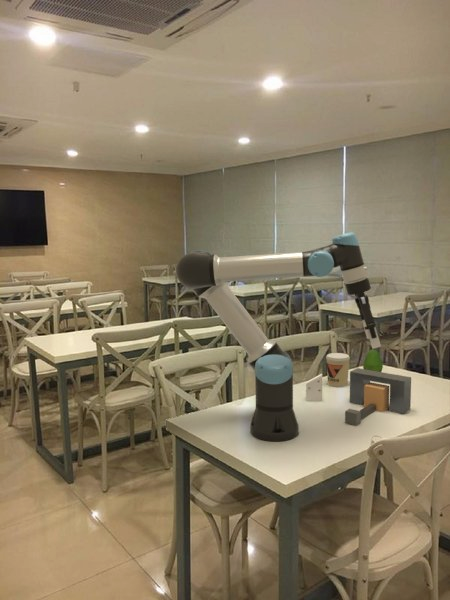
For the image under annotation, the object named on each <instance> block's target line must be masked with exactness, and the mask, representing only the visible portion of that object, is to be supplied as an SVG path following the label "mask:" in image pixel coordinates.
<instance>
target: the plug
mask: <svg viewBox="0 0 450 600" xmlns="http://www.w3.org/2000/svg"><path fill="white" fill-rule="evenodd" d="M389 409H390V385H388V384H383V383H378V382H372V381H370V383H368V384H366V385H365V386H364V404H363V407H362V409H360V410H358V409H357V410H356V409H352V408H348V409H346V410H345V412H344V423H345V424H347V425H352V426H356V427H357V426H358V425H360V424H361V422H362V421H363V420H364V419H365V418H367V417H368V416H370V415H371V414H373V413H374V412H375V411H376V412H377V411H378V412H383V413H384V412H385V411H387V410H389Z"/></svg>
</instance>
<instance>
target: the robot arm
mask: <svg viewBox="0 0 450 600" xmlns="http://www.w3.org/2000/svg"><path fill="white" fill-rule="evenodd" d="M337 267H339V268H340V273H341V276H342V281H343V282H344V283H345V289H346V293H347V295H349V296H355V298H354V301H355V304H356V306H357V309H358V311H359V316H360V319H361V323H362V326H363V329H364V333H365V336H366V339H367V340H369V342H370V345H371V348H372V349H371V350H375V349H378V348H381V347H382V344H381V340H380V337H379V334H378V331H377V328H376V327H377V324H376V322H375V320H374V315H373V313H372V310H371V304H370V299H369V296H367V294H366V295H365V292H368V291H369V290H371V288H372V287H371V283H370V280H369V278H368V274H367V271H366V270H368V267H367V266H365V262H364V258H363V256H362V252H361V247H360V244H359V242H358V239H357V235H356V233H354V232H353V231H350V232H345V233H343V234H340V235H336V236H333V237H332V243H331V244H328V245H326V246H322V247H319V248H318V247H317V248H314V249H312V250H307V251H295V252H280V253H268V254H253V255H252V254H250V255H239V256H224V257H220V256H218V255H217V254H211V253H210V252H208V251H205V250H195V251H191V252H188V253H186V254H184V255H182V256H181V257H180V258H179V260H178V262H177V263H176V267H175V275H176V278H177V280H178V282H179V283H180V284H181V285H182V286H184V287H185V288H188V289H191V290H192V291H193V292H194V293H195V294H196V296H197V297H198V298H200V299H201V298H202V299H205V300H206V301H207V303H208V304H209V305H210V306H211V308H212V309H213V310H214V311H215V313H216V314H217V316H218V317H219V319H221V321H222V322H223V323H224V326H226V328H227V329H228V330H229V332H230V333H231V334H232V336H233V337H234V338H235V339H236V341H237V342H238V343H239V345H240V346H241V347H242V349H243V351H245V353H246V354H247V356H248V358H247V363H248V364H249V365H250V367H251V368H252V369H253V371H254V376H255V384H254V385H255V386H254V387H255V391H254V392H255V409H254V411H253V415H252V419H251V422H250V434H251V435H252V436H253V437H255V438H256V439H259V440H263V441H270V442H283V441H288V440H291V439H294V438H296V437H297V436H298V435H299V431H300V428H299V427H300V425H299V422H298V420H297V417H296V414H295V410H294V375H293V374H294V365H293V361H292V359H291V356H290V355H289V354H288V353H287V352H286V351H285V350H283V349H282V348H281V347H280V345H279V344H278V342H277V341H276V340H271V339H269V338H268V337H267V336H266V334H265V333H264V331H263V330H262V329H261V328H260V326H259V325H258V324H257V322H256V321H255V320H254V318H253V316H251V314H250V313H249V312H248V311H247V309H246V308H245V307H244V305H243V304H242V303H241V301H240V300H239V299H238V297H237V296H236V295H235V293H234V292H233V291H232V289H231V288H230V287H229V286H228V284H227V283H228V282H243V281H244V282H245V281H260V280H273V279H288V278H290V279H291V278H299V277H300V278H302V277H305V278H306V277H317V278H322V277H327V276H328V275H329V274H331V273H332V271H333V270H334V268H337Z"/></svg>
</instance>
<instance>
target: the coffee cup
mask: <svg viewBox="0 0 450 600" xmlns="http://www.w3.org/2000/svg"><path fill="white" fill-rule="evenodd" d="M325 358H326V359H325V360H326V374H327V377H326V378H327V385H328V384H329V386H331V387H334V388H335V387H336V388H343V387H347V385H348V381H349V370H350V369H349V368H350V355H348V354H347V353H342V352H331V353H328V354H327V355H326V357H325Z"/></svg>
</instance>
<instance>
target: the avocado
mask: <svg viewBox="0 0 450 600" xmlns="http://www.w3.org/2000/svg"><path fill="white" fill-rule="evenodd" d="M362 364H363V365H362V369H366V370H371V371H377V372H382V371H383V368H384V367H383V366H384V364H383V360H382V358H381V355H380V353H379V351H377V350H376V349H370V350H369V351H368V352H367V353H366V356H365V357H364V360H363V363H362Z"/></svg>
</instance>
